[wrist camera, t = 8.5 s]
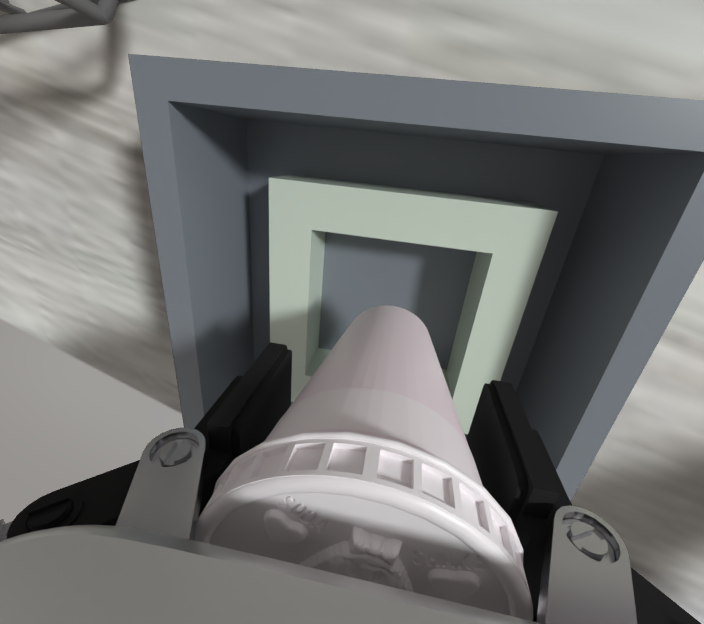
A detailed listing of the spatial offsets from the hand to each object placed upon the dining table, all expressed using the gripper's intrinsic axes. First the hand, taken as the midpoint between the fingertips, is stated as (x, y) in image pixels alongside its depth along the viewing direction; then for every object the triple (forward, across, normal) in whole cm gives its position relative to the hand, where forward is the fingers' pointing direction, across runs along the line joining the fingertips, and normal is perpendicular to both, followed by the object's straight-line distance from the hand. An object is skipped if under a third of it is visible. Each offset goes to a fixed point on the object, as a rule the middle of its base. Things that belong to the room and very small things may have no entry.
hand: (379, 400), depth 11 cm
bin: (+10, 0, 0) cm, 10 cm away
